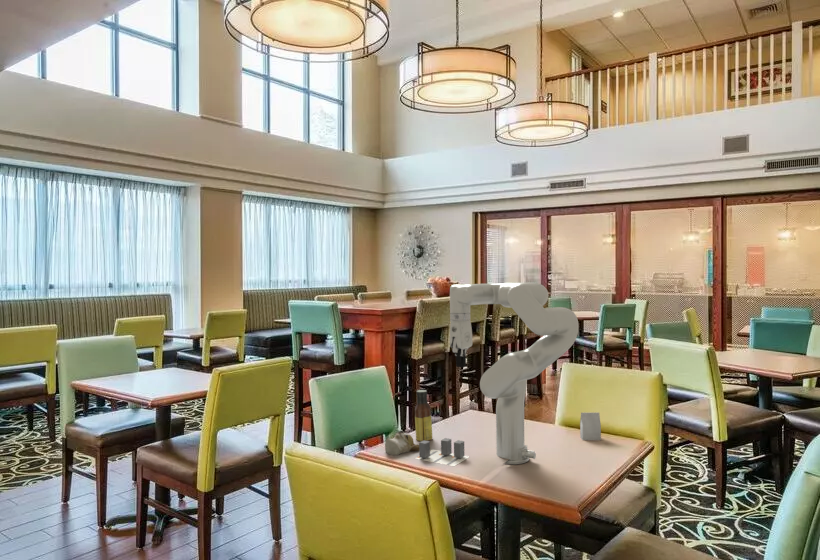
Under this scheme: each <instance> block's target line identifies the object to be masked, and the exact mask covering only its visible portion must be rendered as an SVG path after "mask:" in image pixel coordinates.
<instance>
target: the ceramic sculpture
mask: <svg viewBox="0 0 820 560" xmlns="http://www.w3.org/2000/svg"><path fill="white" fill-rule="evenodd" d="M384 451H385V453H387V454H389V455H393V456H399V455H401V454H404V453H408V452H419V443H418V444H416V443H414V438H413V436H412V435H411V434H409V433H406V432H404V431H403V430H399V431H397V432H396V433H395V434H394V437H393V438H388V437H387V438H386V440H385V443H384Z"/></svg>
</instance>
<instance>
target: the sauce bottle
mask: <svg viewBox="0 0 820 560" xmlns="http://www.w3.org/2000/svg"><path fill="white" fill-rule="evenodd" d="M416 399H417V400H416V405H415V406H414V423H415V439H416V441H418V442H422V441H424V440H425V441H430V442H431V441H433V426H432V425H433V423H432V421H433V420H432V411H431V408H432V407H430V405H429V403H428V402H429V401H428V390H426V389H418V390H416Z"/></svg>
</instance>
